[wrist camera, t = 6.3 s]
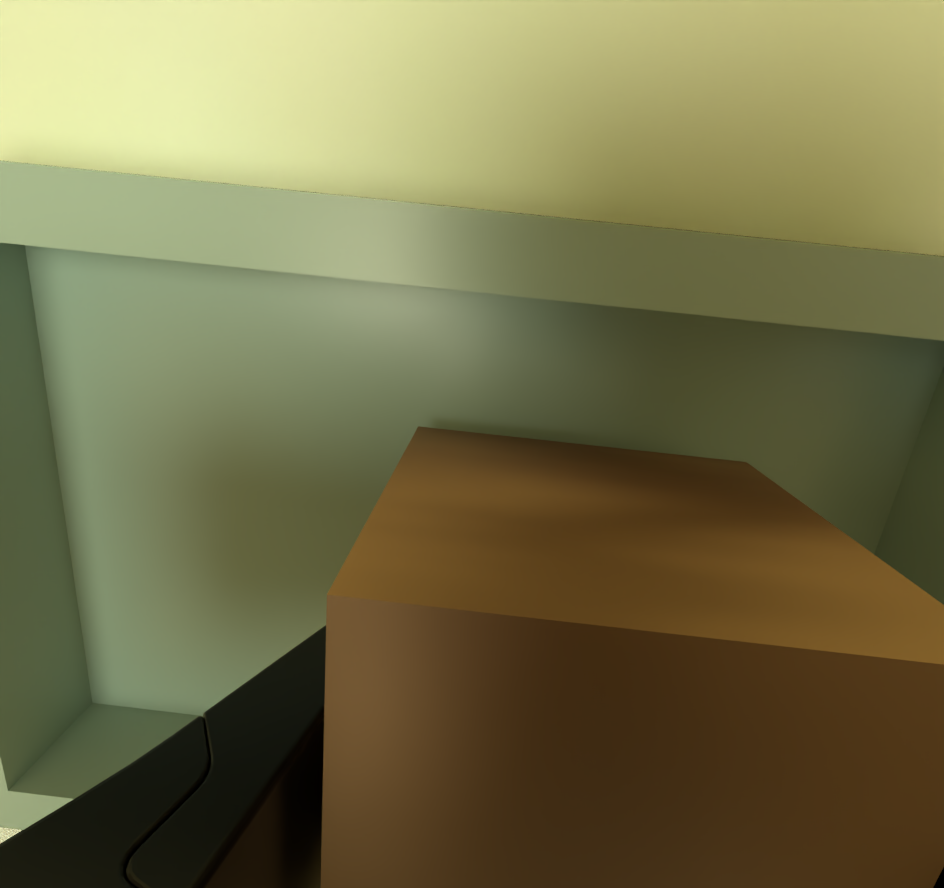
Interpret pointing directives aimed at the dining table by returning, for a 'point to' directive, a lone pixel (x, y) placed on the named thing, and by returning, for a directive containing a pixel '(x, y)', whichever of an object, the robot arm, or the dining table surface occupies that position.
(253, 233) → the tray
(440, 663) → the walnut block
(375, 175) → the dining table surface
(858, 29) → the dining table surface
